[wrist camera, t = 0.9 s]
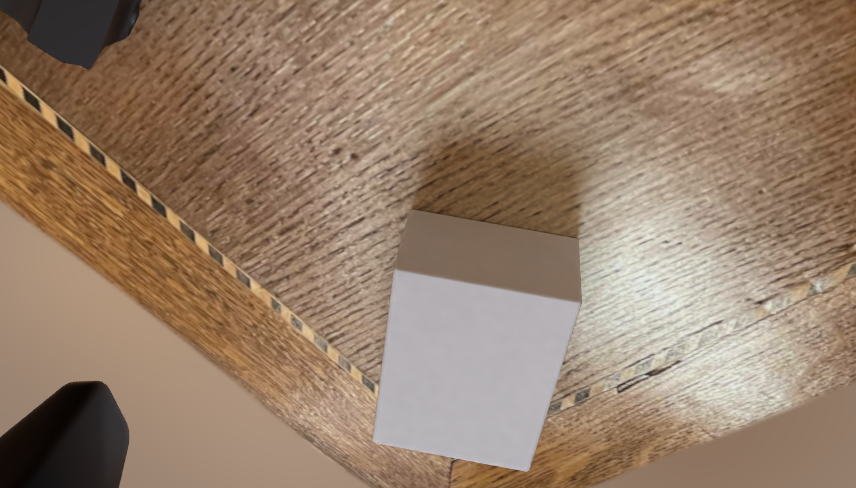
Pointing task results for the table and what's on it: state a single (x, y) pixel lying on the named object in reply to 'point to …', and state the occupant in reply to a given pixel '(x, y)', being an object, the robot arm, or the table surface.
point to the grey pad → (475, 338)
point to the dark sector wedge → (74, 25)
